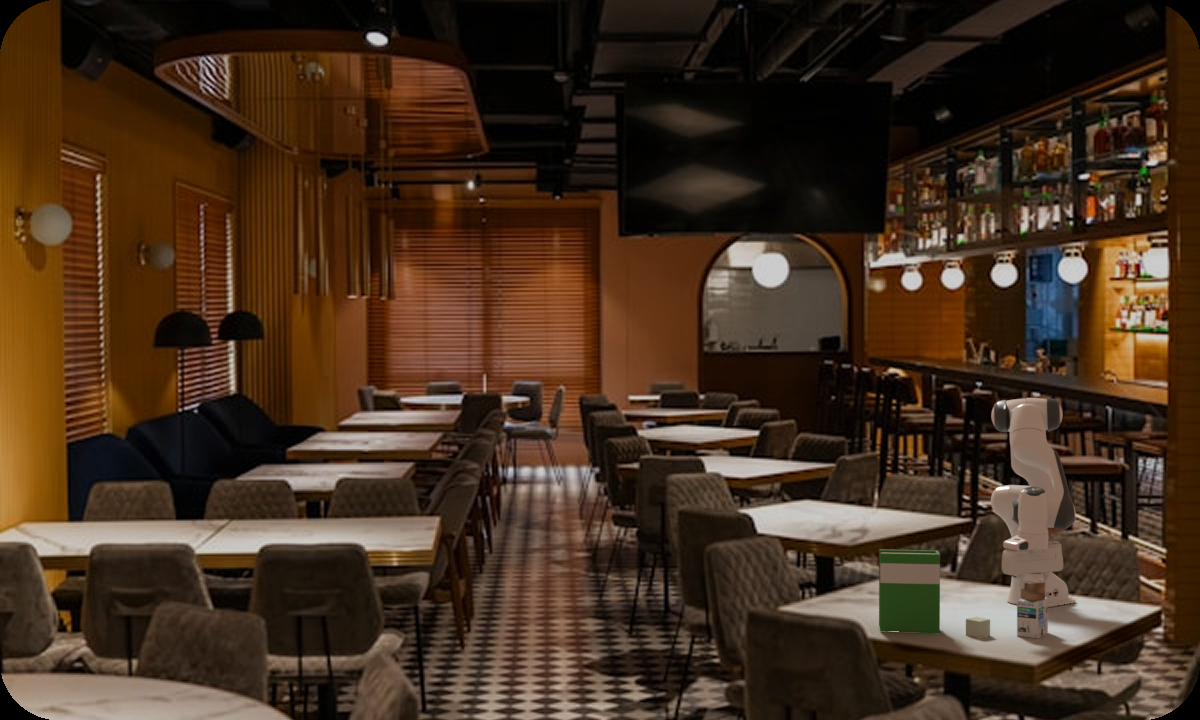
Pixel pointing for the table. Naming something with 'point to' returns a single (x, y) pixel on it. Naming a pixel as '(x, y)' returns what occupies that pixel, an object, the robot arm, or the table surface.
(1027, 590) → the walnut cube
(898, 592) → the green upright box
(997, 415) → the robot arm
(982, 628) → the sage cube
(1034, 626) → the light bulb box
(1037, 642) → the table surface
